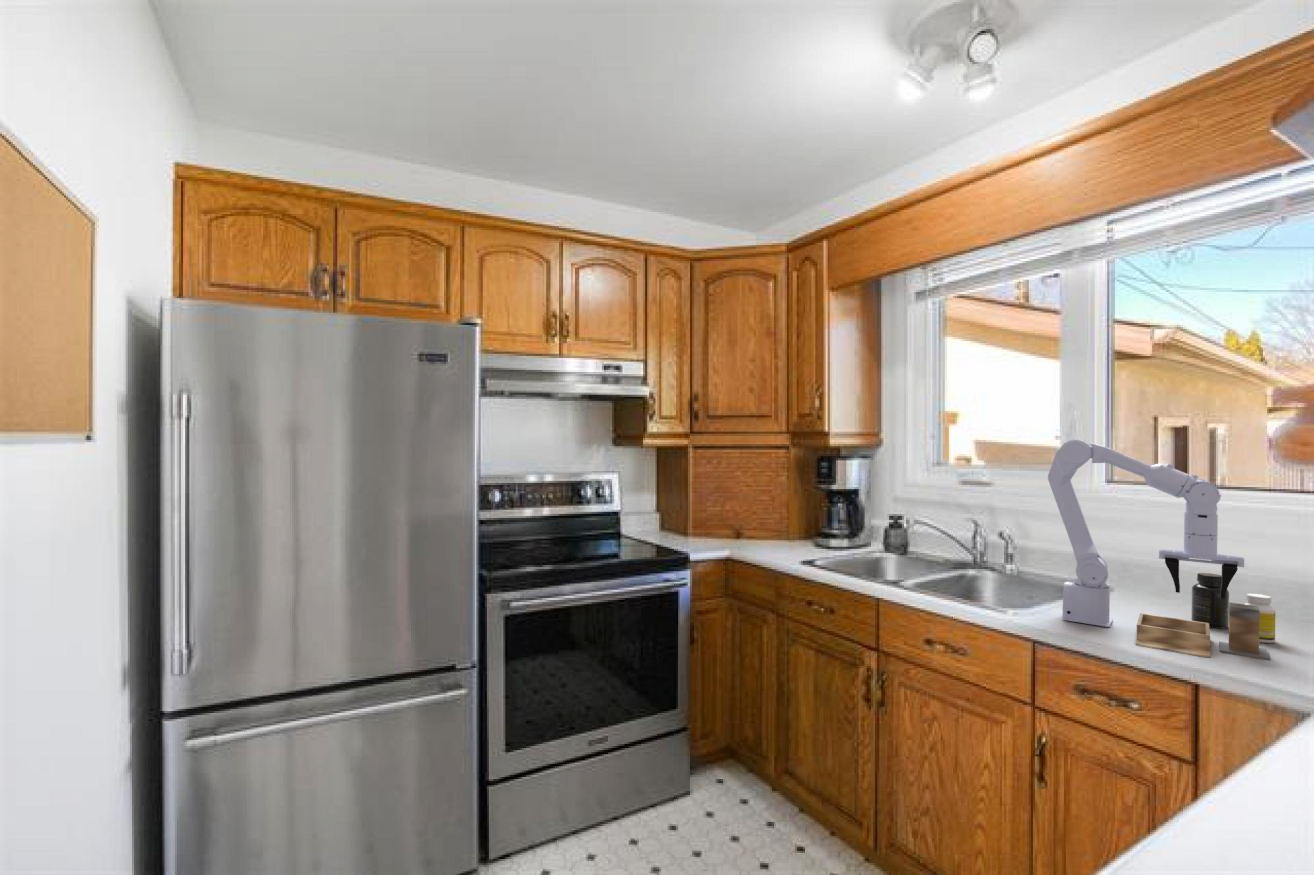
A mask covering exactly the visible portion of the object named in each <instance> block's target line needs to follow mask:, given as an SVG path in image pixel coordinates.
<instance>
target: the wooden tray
mask: <svg viewBox="0 0 1314 875" xmlns="http://www.w3.org/2000/svg"><path fill="white" fill-rule="evenodd" d="M1134 644H1135V646H1138V647H1146V648H1151V649H1156V650H1163V651H1167V652H1168V651H1169V652H1175V653H1180V654H1187V655H1190V656H1191V655H1192V656H1196V657H1197V656H1198V657H1203V658H1211V630H1210V627H1209V623H1204V622H1197V621H1192V620H1187V619H1182V618H1177V617H1176V618H1175V617H1168V616H1162V615H1156V614H1155V615H1154V614H1149V613H1144V612H1143V613H1139V617H1138V619H1137V622H1136V640H1135V643H1134Z"/></svg>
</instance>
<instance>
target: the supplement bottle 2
mask: <svg viewBox="0 0 1314 875" xmlns="http://www.w3.org/2000/svg"><path fill="white" fill-rule="evenodd" d="M1246 601H1247V602H1246V603H1244V604H1245V605H1253V606H1258V608H1259V610H1260V617H1259V643H1263V644H1265V643H1267V644H1272V643H1275V642H1276V641H1275V640H1276V610H1275V608H1274V607H1272V605H1271V604H1272V597H1271V596H1270V595H1265V594H1260V593H1247V594H1246Z"/></svg>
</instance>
